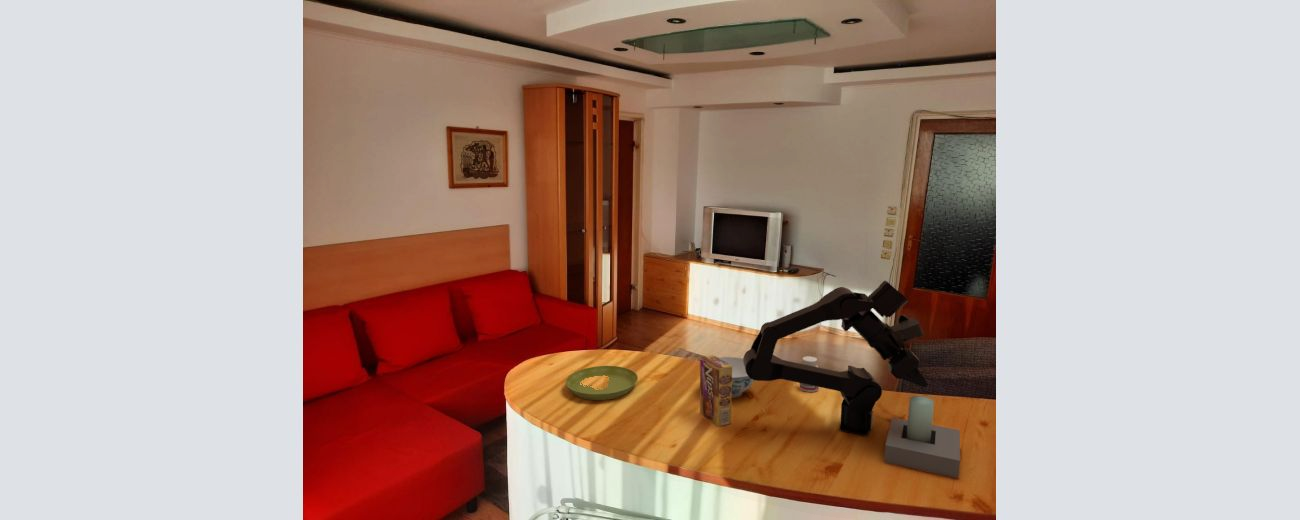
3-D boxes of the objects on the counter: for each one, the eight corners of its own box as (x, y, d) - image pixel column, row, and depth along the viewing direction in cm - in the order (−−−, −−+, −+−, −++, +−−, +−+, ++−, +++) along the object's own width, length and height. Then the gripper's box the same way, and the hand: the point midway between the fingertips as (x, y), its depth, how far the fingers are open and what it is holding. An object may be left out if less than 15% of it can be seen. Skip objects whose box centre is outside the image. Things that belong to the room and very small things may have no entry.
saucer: (652, 383, 165) (651, 373, 164) (609, 411, 148) (608, 400, 147) (596, 370, 176) (596, 360, 175) (550, 394, 159) (550, 383, 158)
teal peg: (900, 446, 127) (904, 397, 125) (919, 444, 128) (923, 394, 126) (915, 458, 122) (919, 406, 120) (934, 454, 123) (939, 404, 121)
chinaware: (746, 409, 147) (746, 381, 146) (694, 397, 154) (694, 371, 153) (764, 387, 160) (765, 362, 158) (716, 378, 167) (716, 353, 166)
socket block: (884, 462, 121) (885, 445, 120) (891, 433, 133) (892, 417, 132) (958, 478, 115) (960, 460, 114) (958, 446, 127) (959, 430, 126)
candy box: (732, 423, 139) (733, 365, 136) (718, 427, 137) (718, 368, 135) (713, 409, 147) (713, 354, 144) (699, 413, 145) (699, 357, 142)
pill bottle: (819, 393, 155) (820, 362, 154) (799, 391, 157) (800, 361, 155) (817, 385, 161) (818, 355, 159) (798, 384, 162) (799, 354, 160)
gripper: (912, 319, 120) (963, 371, 120) (891, 297, 138) (937, 342, 138) (870, 353, 123) (921, 403, 123) (856, 326, 141) (900, 370, 141)
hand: (920, 377), depth 131 cm, fingers open, 9 cm apart
